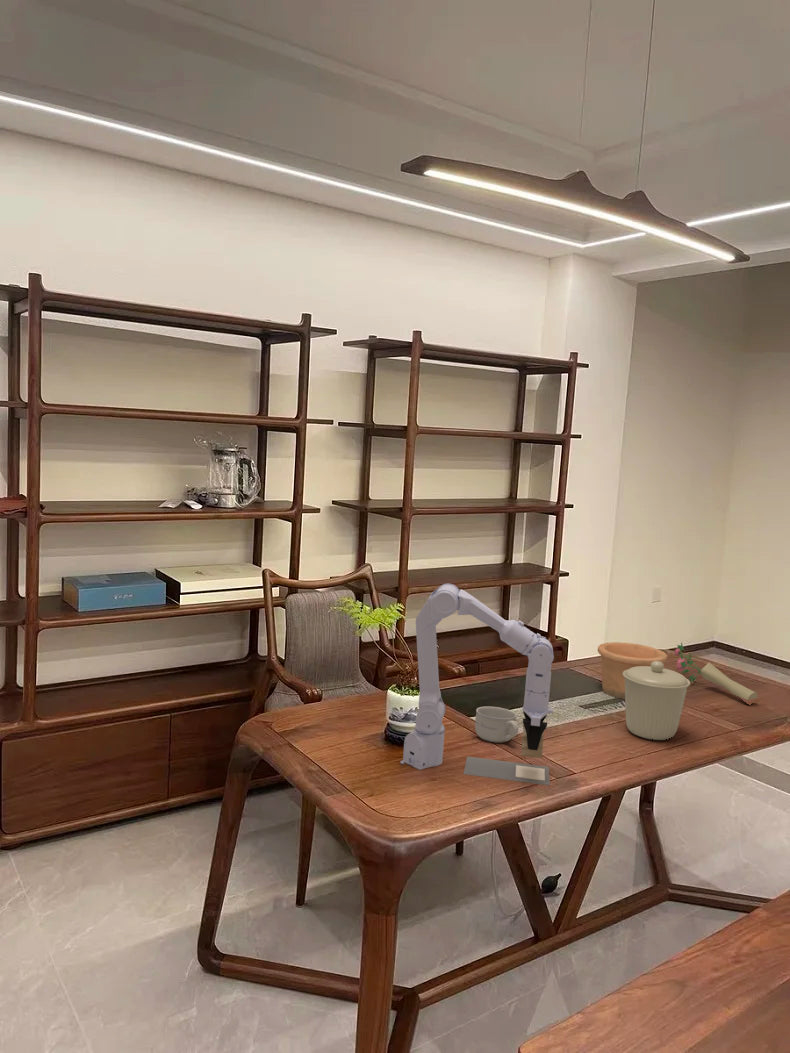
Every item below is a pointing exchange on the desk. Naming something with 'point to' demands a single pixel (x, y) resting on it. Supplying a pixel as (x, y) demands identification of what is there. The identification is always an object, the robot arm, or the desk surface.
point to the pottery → (624, 663)
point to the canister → (654, 700)
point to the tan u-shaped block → (527, 751)
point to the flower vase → (714, 676)
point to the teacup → (495, 724)
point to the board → (507, 770)
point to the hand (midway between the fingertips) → (532, 745)
